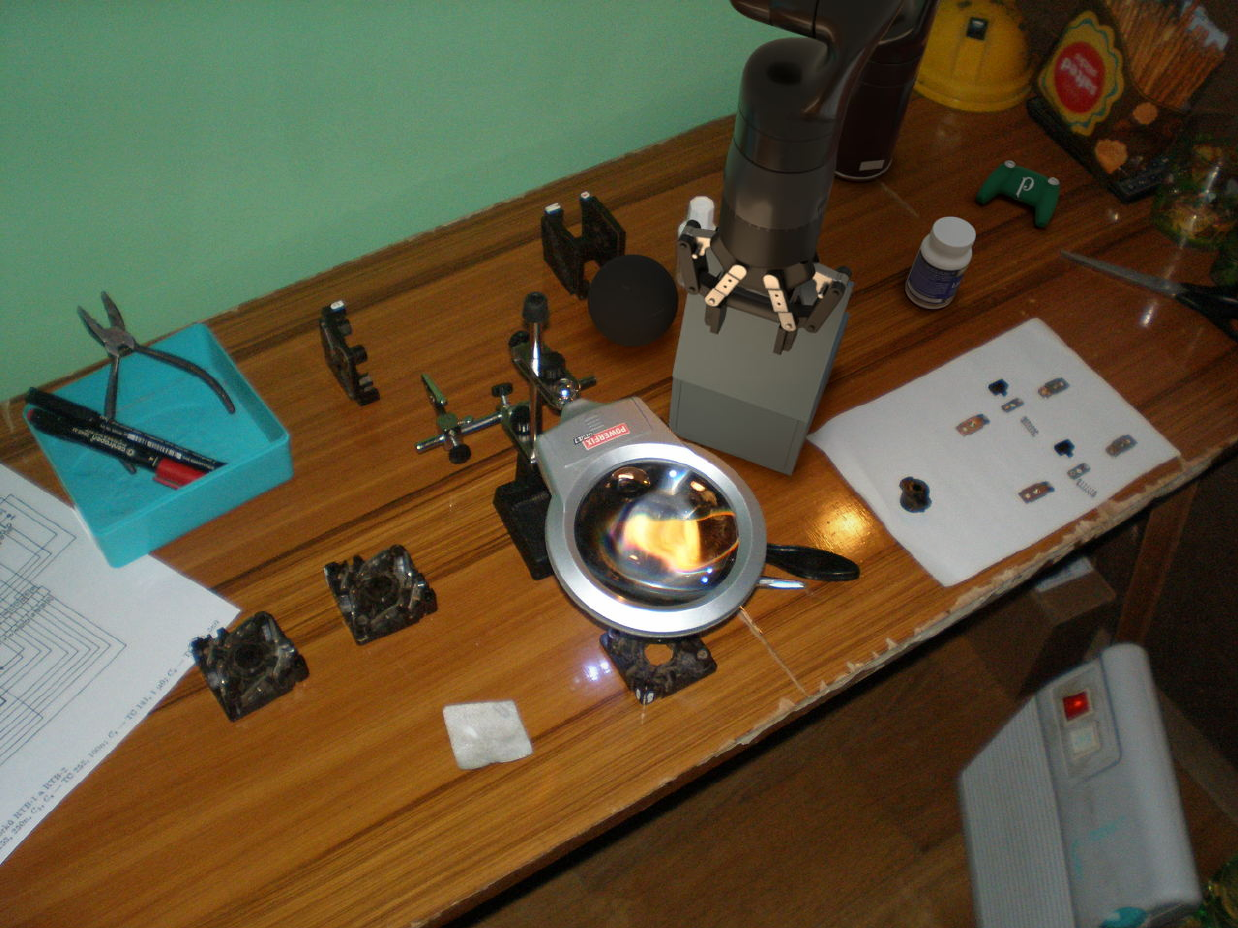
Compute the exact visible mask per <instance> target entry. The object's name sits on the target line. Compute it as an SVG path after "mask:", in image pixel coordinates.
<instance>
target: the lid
mask: <svg viewBox="0 0 1238 928" xmlns="http://www.w3.org/2000/svg"><path fill="white" fill-rule="evenodd" d="M706 257H707V262H708V268H709V273H710V274H712V275H713V276H715V277H716V276H717V274H718V273H719V272H720V271H721V269H722V268H723V267H722V266H721V264H720V263H719V261H718V260H717V258H716V257H715V255H714V253H713V252H712V250H711V248H710V247H708V248H707V250H706ZM816 286H817V283H816V281H815V280H814V279H811V280H810V281H808V282H806V283H804V284H802V286H801V293H802V297H803V301H804V305H813V303H814V302H815V300H816V299H817V297H818V292H817V291H816ZM854 286H855V282H854V281H851V280H849V282H848V285H847V287H846V290H845V292H844V295H843V297H842V299H841V300H840V301H839V303H838V304H837V306H836V307H835V308H834V310H833V311H832V313H831V314H830V315H829V317H828V318H827V319H826V321H825V322H824V324H823V325H822V326H821V328H820V329H819V331H818V332H817V333H810V332H807V331H806V330H805V328H798V332H797V336H796V339H795V341H794V344H793V346H792V348H791V350H790V351H788V352H787V351H784V350H783V352H782V354H781V355H778V354H775V353H773V350H774V345H775V341H776V337H777V332H778V328H779V326H780V323H781V322H780V318H779V315H778V312H774V309H773V306H772V302H771V299H770V297H769V296H766V295H763V294H761V293H760V292H758V291H756V290H751V289H744V288H741V287H738V286H735V287H734V288H733V290H732V291H731V292H730V293H729V294H728V297H727V300H726V306H727V312H726V317H725V320H724V323H723V325H722V327H721V329H720V331H719V333H718V335H717V334H714V333H711V332H710V326H708V325H706V323H705V321H704V319H705V311H706V302H705V298H704V297H703V296H702V295H701V294H699V293H698V294H697V295H691V294H689V293H688V292H687V295H686V300H685V304H684V311H683V315H682V321H681V327H680V332H679V337H678V343H677V348H676V353H675V358H674V364H673V369H672V375H671V376H672V378H673V377H675V378H678V379H681V380H684V381H687V382H690V383H693V384H696V385H699V386H701V387H704V388H707V389H710V390H713V391H716V392H719V393H722V394H725V395H728V396H731V397H734V398H736V399H739V400H742V401H745V402H748V403H751V404H754V405H757V406H760V407H763V408H766V409H769V410H771V411H774V412H777V413H780V414H783V415H786V416H789V417H792V418H795V419H798V420H801V421H803V422H806V423H808V421H809V419H810V416H811V413H812V410H813V407H814V404H815V401H816V398H817V395H818V392H819V389H820V386H821V383H822V380H823V377H824V374H825V371H826V368H827V364H828V361H829V358H830V355H831V352H832V349H833V346H834V343H835V340H836V337H837V334H838V331H839V328H840V325H841V322H842V319H843V316H844V313H845V312H846V311H847V307H848V305H849V301H850V298H851V295H852V292H853V289H854Z"/></svg>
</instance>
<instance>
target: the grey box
mask: <svg viewBox="0 0 1238 928" xmlns="http://www.w3.org/2000/svg"><path fill="white" fill-rule="evenodd" d="M850 316H851V313H850V312H846V311H845V313H844V316H843V319H842V322H841V325H840V328H839V331H838V334H837V337H836V340H835V343H834V346H833V349H832V352H831V355H830V358H829V361H828V364H827V368H826V371H825V374H824V377H823V380H822V383H821V386H820V389H819V392H818V395H817V398H816V401H815V404H814V407H813V410H812V413H811V416H810V419H809V421H808V423H806V422H803V421H801V420H798V419H795V418H792V417H789V416H786V415H783V414H780V413H777V412H774V411H771V410H769V409H766V408H763V407H760V406H757V405H754V404H751V403H748V402H745V401H742V400H739V399H736V398H734V397H731V396H728V395H725V394H722V393H719V392H716V391H713V390H710V389H707V388H704V387H701V386H699V385H696V384H693V383H690V382H687V381H684V380H681V379H678V378H675V377H672V386H671V397H670V405H669V406H670V407H669V417H668V426H669V427H670V428H671V429H672V431H673V432H674V433H675V434H676V435H675V436H677V437H679V438H683V439H685V440H688V441H691V442H694V443H696V444H699V445H702V446H705V447H707V448H711V449H714V450H717V451H719V452H722V453H724V454H727V455H730V456H734V457H736V458H738V459H742V460H745V461H747V462H750V463H753V464H755V465H758V466H760V467H761V466H762V467H764V468H767V469H769V470H770V469H771V470H772V471H776V472H778V473H781V474H784V475H787V476H790V477H792V475H793V473H794V470H795V468H796V465H797V462H798V460H799V457H800V454H801V452H802V449H803V447H804V443H805V441H806V438H807V436H808V434H809V431H810V429H811V426H812V423H813V421H814V418H815V415H816V413H817V410H818V408H819V405H820V403H821V400H822V397H823V394H824V392H825V390H826V387H827V384H828V383H829V379H830V376H831V374H832V371H833V368H834V365H835V362H836V359H837V356H838V353H839V349H840V347H841V344H842V341H843V339H844V334H845V331H846V328H847V326H848V322H849V320H850Z"/></svg>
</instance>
